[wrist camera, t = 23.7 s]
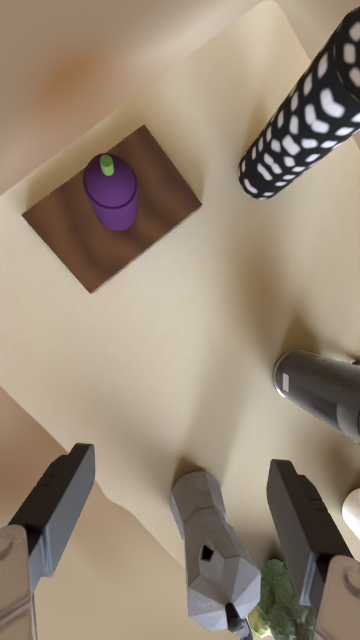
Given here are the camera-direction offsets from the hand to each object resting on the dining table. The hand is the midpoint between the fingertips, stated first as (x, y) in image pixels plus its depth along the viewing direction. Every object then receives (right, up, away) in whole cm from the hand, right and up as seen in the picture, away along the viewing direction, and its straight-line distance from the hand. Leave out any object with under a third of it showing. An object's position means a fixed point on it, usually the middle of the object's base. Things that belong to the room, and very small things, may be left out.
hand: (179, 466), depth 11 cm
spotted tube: (+14, +31, +30) cm, 46 cm away
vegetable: (+17, -43, +36) cm, 59 cm away
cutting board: (-9, +23, +27) cm, 37 cm away
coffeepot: (+3, -25, +32) cm, 41 cm away
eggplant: (-9, +23, +25) cm, 35 cm away
